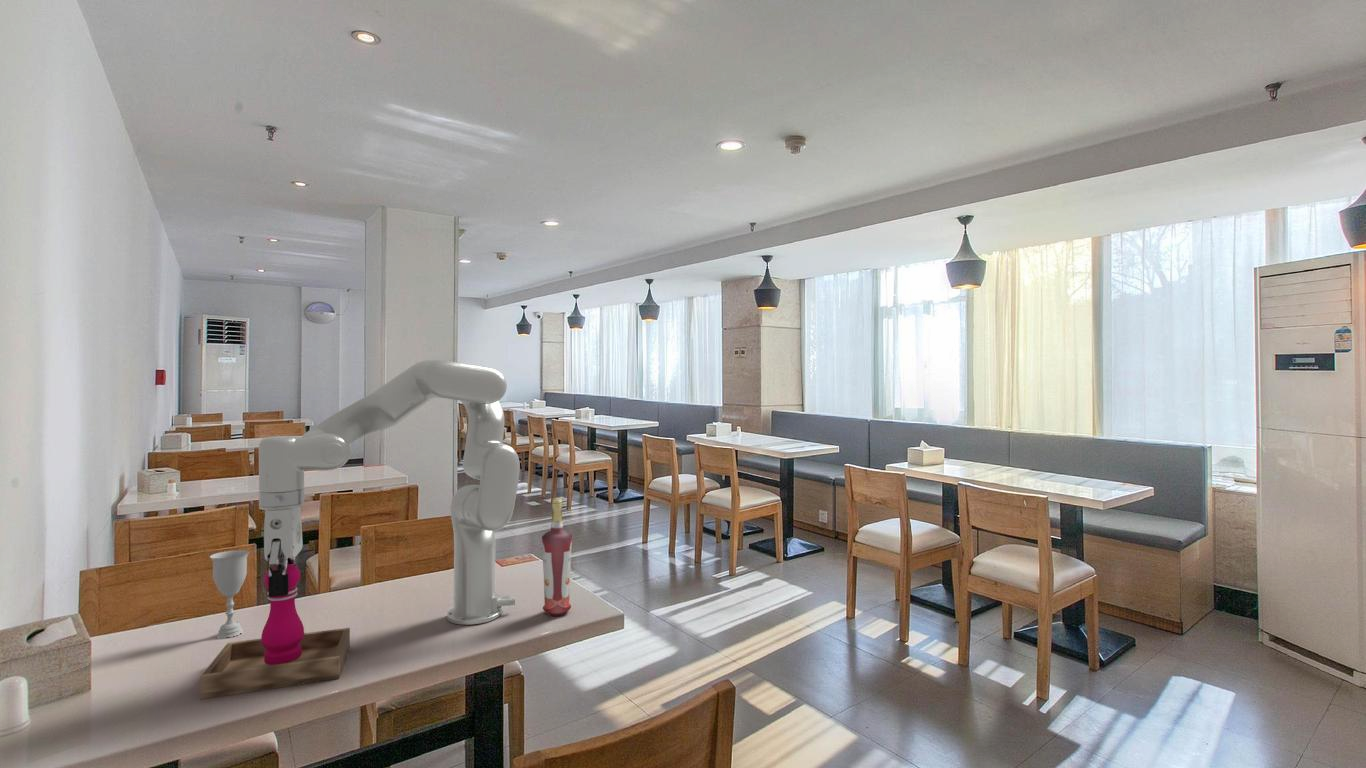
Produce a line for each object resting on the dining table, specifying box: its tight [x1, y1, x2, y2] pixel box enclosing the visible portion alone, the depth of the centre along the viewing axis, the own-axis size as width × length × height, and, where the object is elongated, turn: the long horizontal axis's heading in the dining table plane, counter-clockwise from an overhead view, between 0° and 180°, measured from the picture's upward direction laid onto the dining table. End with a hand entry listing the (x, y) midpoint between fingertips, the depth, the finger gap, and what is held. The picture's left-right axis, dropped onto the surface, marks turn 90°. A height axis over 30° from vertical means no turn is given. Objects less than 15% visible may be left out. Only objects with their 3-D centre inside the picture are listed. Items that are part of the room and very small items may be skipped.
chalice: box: [209, 549, 250, 639], centre depth 143 cm, size 7×7×18 cm
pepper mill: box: [260, 556, 305, 665], centre depth 125 cm, size 7×7×20 cm
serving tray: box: [199, 627, 351, 700], centre depth 125 cm, size 22×16×4 cm
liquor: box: [541, 497, 573, 617], centre depth 156 cm, size 7×7×28 cm
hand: (282, 589), depth 125 cm, fingers closed on pepper mill, 5 cm apart
